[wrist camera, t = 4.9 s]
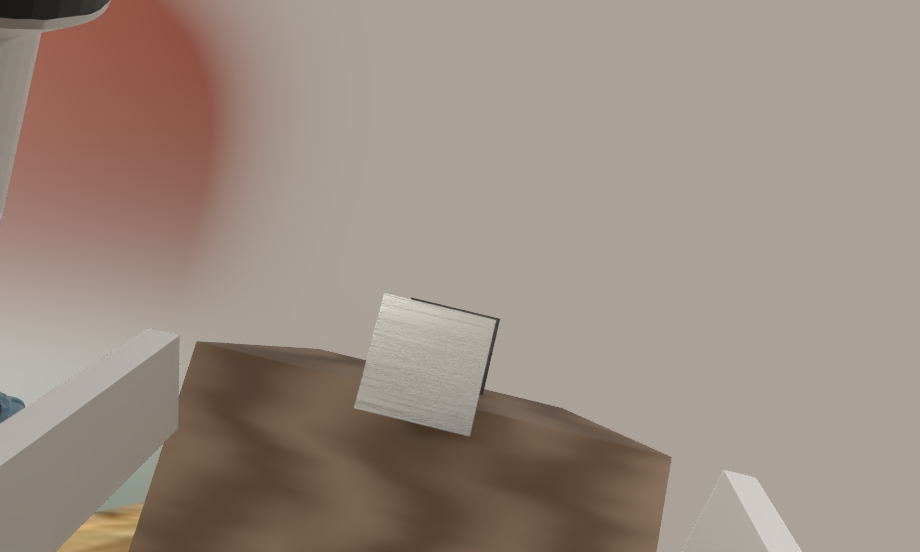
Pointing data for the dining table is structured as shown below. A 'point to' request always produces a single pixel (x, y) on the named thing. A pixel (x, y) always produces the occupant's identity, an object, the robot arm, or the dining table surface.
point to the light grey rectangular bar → (427, 364)
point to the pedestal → (384, 469)
